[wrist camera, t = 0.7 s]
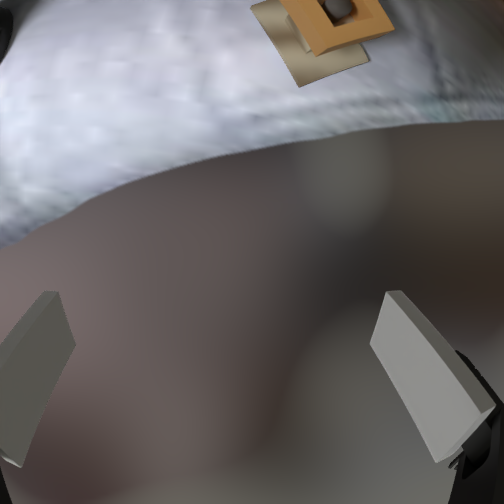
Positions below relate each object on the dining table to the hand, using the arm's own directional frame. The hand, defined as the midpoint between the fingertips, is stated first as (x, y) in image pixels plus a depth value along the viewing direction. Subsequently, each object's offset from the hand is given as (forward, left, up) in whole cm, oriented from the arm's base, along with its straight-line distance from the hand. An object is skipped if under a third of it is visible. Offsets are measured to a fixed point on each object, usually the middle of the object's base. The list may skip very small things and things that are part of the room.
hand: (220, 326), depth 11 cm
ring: (-13, +19, -18) cm, 29 cm away
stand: (-13, +19, -26) cm, 34 cm away
